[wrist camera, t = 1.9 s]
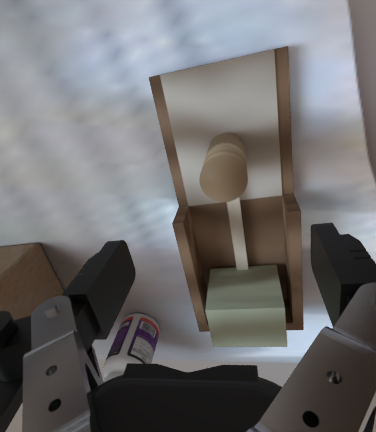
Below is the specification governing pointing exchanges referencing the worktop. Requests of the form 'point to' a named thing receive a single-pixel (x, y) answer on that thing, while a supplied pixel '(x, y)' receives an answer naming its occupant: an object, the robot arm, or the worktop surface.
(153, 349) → the pill bottle
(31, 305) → the wooden block
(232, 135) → the string block
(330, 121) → the worktop surface
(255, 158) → the lane
